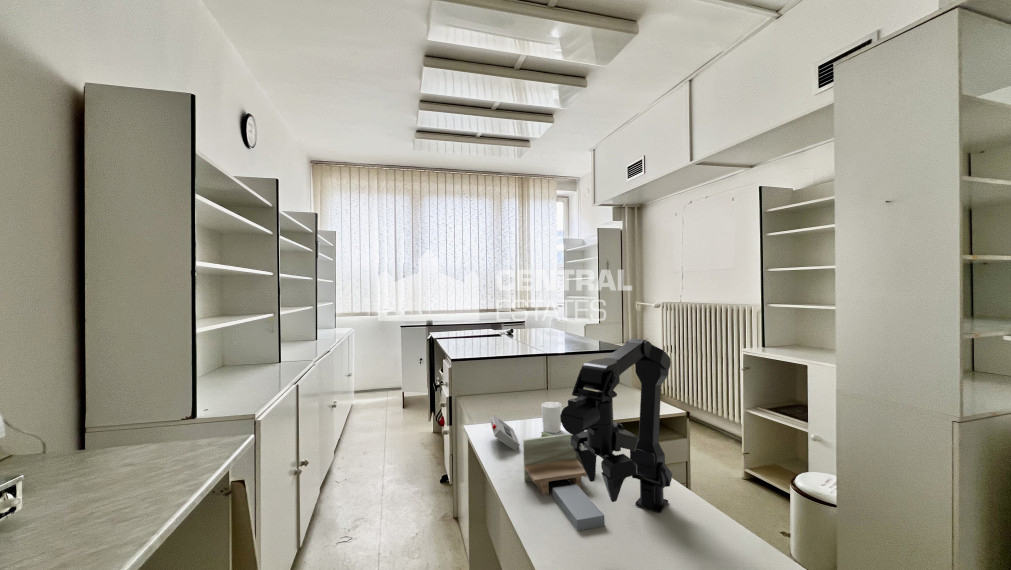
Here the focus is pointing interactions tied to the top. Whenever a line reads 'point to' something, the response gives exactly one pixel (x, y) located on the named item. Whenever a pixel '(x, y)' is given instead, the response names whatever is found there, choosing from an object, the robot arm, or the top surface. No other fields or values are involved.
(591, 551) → the top surface
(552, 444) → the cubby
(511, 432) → the cassette player
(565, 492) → the grey chamfered block
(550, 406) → the white cup
